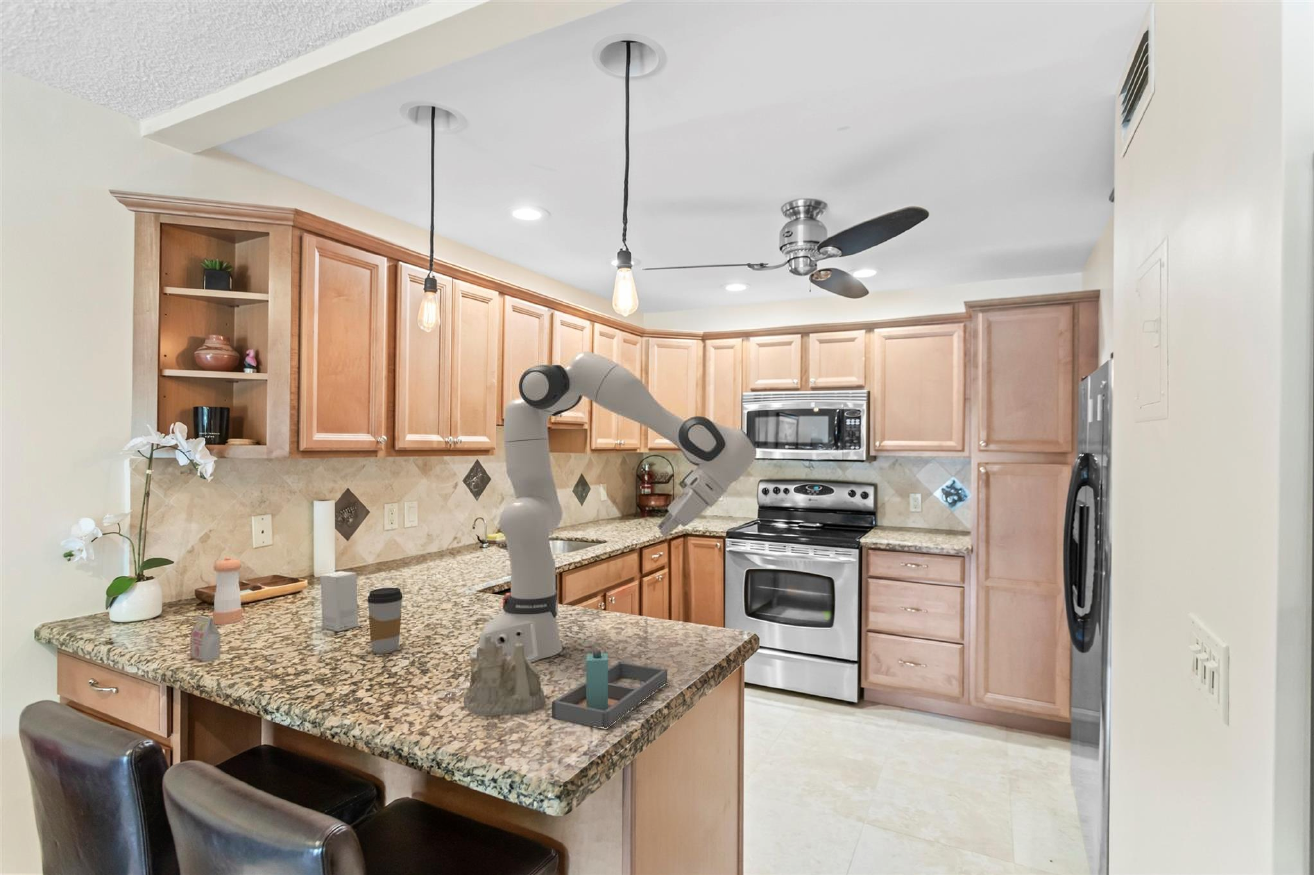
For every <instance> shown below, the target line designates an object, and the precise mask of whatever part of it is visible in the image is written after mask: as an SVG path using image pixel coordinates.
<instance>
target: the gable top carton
mask: <svg viewBox="0 0 1314 875" xmlns="http://www.w3.org/2000/svg"><path fill="white" fill-rule="evenodd" d="M189 635H190V638H189V639H190V640H189V641H190V650H189V651H190V658H191V659H193V660H196V661H199V662H201V663H205V662H209V661H213V660H217V659H220V658H221V633H220V631H219V629H218V628H217V626H216V624H214V622H213V618H210V617H208V616H203V615H197V618H196V621H195V624H194V625H193V627H192V629H191V631H190V634H189Z"/></svg>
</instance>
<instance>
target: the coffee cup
mask: <svg viewBox="0 0 1314 875" xmlns="http://www.w3.org/2000/svg"><path fill="white" fill-rule="evenodd" d="M401 590H402V589H401V588H399V587H382V588H381V587H380V588H376V589H373V590H370V591H369V594H368V596H367V600H366V601H367V602H366V603H367V605H368V622H369V636H370V645H371V646H370V647H371V651H372V653H373V654H379V655H380V654H383V655H384V654H389V653H394V652H395V651H397V650H398V648H399V647H400V646H399V645H400V636H401V623H402V605H403V604H402V603H403V593H402V591H401Z"/></svg>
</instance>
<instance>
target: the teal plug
mask: <svg viewBox="0 0 1314 875" xmlns="http://www.w3.org/2000/svg"><path fill="white" fill-rule="evenodd" d="M586 654H587V655H586V660H585V682H586V707H589V708H594V709H599V710H604V711H605V710H606V709H608V668H609V664H608V656H609V655H608V653H606V652H605V653H603V652H602V650H601V649H598V648H597V649H593V650H592V653H586Z"/></svg>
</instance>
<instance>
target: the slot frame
mask: <svg viewBox="0 0 1314 875" xmlns="http://www.w3.org/2000/svg"><path fill="white" fill-rule="evenodd" d="M624 677H627V678H626V679H630V678H631V680H635V679H640V680H639V681H641V680H644V681H643V682H644V683H642V684H640V685H639V686H637V687H633V686H627V685H622V684H617V683H613V682H614V681H616V680H617V679H619V678H624ZM666 683H667V684H668V669H665V668H659V667H653V666H647V665H642V664H635V663H629V662H625V661H618V662H616V663H614V664H612V665H611V666H608V709H606V710H605V711H604V710H599V709H594V708H589V707H586V681H584V682H583V683H581V684H579V685H577V686H575V687H573V688H572V689H570V690H569V691H567V692H566V693H564V694H562V695H561V696H559V697H558V698H556V699H554V700H552V701H551V718H552V719H557V720H559V721H560V720H561V721H565V722H569V723H573V722H574V724H578V723H579V724H578V725H582V724H586V725H585V726H587V725H589V726H588V727H591V726H596V727H604V728H607V727H609V726H610V725H611V724H613V723H614V722H615V721H617V720H618V719H619V718H621V717H622V716H623V715H625V714H626V713H627V712H628V711H630V710H631V709H632V708H634V707H635V706H637V705H638V704H639V703H640V702H642V701H643V700H644V699H646V697H648V696H649V695H651V694H652V693H653V692H655V691H656V690H658V689H659V688H660V687H661V686H663V685H664V684H666ZM667 684H666V685H667ZM658 691H659V690H658ZM646 700H647V699H646ZM642 703H643V702H642ZM638 706H639V705H638ZM638 706H637V707H638ZM625 716H626V715H625ZM621 719H622V718H621ZM617 722H618V721H617ZM613 725H614V724H613ZM596 727H595V728H596ZM609 728H610V727H609Z"/></svg>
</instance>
